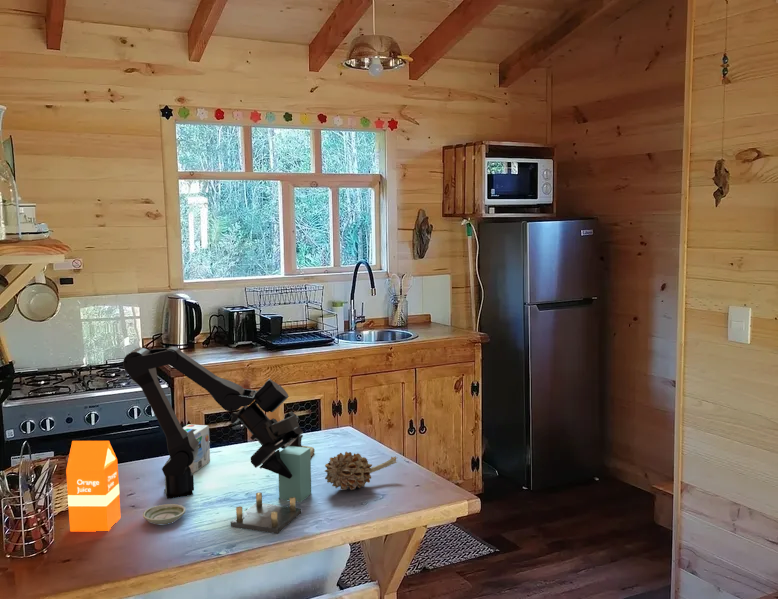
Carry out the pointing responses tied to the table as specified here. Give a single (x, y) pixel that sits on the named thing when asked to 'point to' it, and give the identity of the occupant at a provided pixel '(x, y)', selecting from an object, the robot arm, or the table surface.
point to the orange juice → (92, 486)
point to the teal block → (296, 473)
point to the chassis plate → (266, 516)
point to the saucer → (164, 513)
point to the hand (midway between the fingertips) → (299, 471)
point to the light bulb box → (200, 445)
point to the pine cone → (351, 470)
